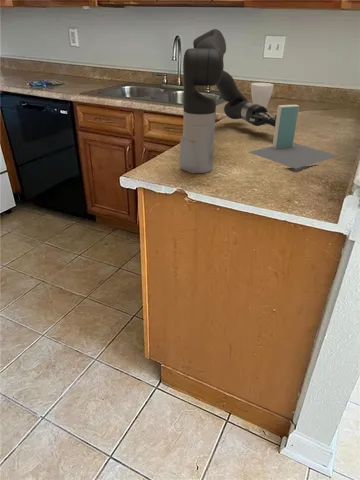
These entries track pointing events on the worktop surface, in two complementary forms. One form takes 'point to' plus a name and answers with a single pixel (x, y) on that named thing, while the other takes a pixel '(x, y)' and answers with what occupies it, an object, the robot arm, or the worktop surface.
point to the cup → (261, 93)
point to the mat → (294, 156)
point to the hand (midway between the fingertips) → (277, 123)
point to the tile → (285, 126)
